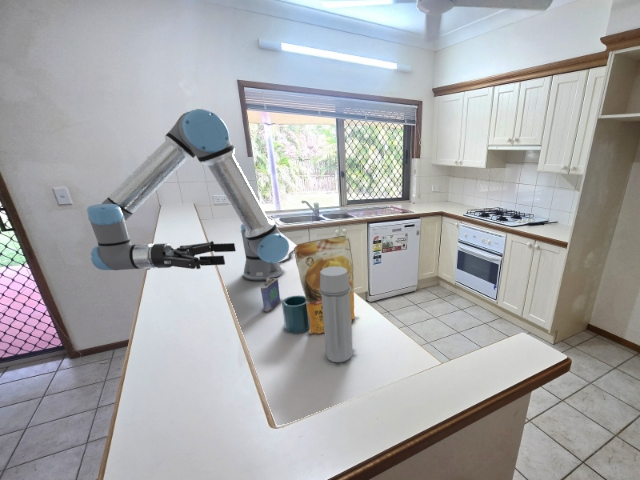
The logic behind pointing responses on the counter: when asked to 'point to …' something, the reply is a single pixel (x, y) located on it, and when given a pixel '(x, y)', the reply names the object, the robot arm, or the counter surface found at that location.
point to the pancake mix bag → (310, 264)
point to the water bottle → (336, 313)
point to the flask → (270, 294)
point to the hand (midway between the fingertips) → (229, 253)
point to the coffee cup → (295, 314)
